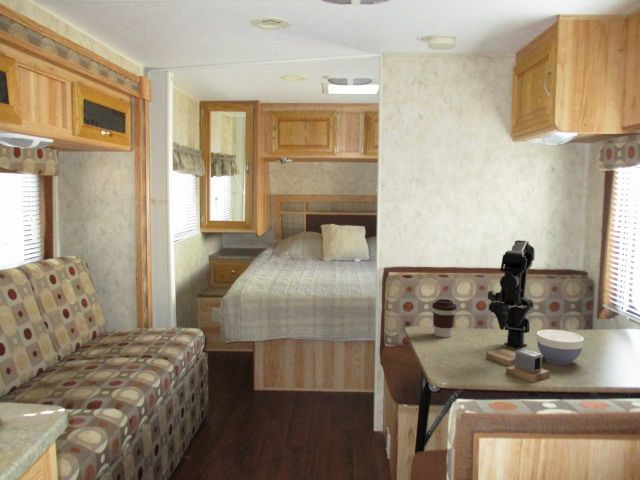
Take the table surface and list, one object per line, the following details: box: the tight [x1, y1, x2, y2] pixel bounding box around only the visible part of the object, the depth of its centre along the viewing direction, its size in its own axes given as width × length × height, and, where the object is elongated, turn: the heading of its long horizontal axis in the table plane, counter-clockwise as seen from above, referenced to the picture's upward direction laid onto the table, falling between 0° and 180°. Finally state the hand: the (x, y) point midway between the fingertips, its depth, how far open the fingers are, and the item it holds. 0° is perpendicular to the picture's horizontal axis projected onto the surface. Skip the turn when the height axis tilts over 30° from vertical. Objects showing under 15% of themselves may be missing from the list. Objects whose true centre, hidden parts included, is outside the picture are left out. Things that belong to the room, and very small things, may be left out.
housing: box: [514, 347, 543, 374], centre depth 189 cm, size 5×7×6 cm
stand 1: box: [485, 348, 516, 367], centre depth 205 cm, size 10×10×2 cm
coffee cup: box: [431, 298, 458, 338], centre depth 234 cm, size 10×10×15 cm
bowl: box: [536, 329, 585, 366], centre depth 205 cm, size 16×16×10 cm
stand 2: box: [505, 365, 550, 384], centre depth 190 cm, size 10×10×2 cm
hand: (509, 327), depth 204 cm, fingers open, 9 cm apart
